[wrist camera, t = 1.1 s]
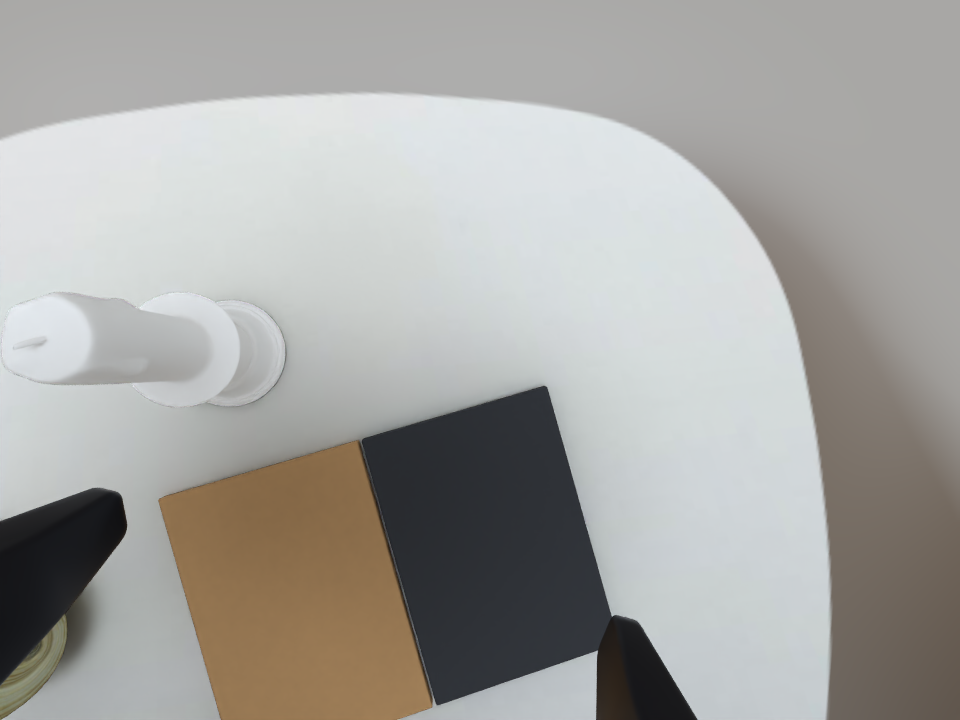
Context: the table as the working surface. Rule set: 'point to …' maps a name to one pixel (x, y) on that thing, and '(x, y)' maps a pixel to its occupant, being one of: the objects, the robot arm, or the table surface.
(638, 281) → the table surface
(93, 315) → the candle
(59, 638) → the seashell
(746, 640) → the table surface
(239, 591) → the sorting mat
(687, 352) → the table surface
